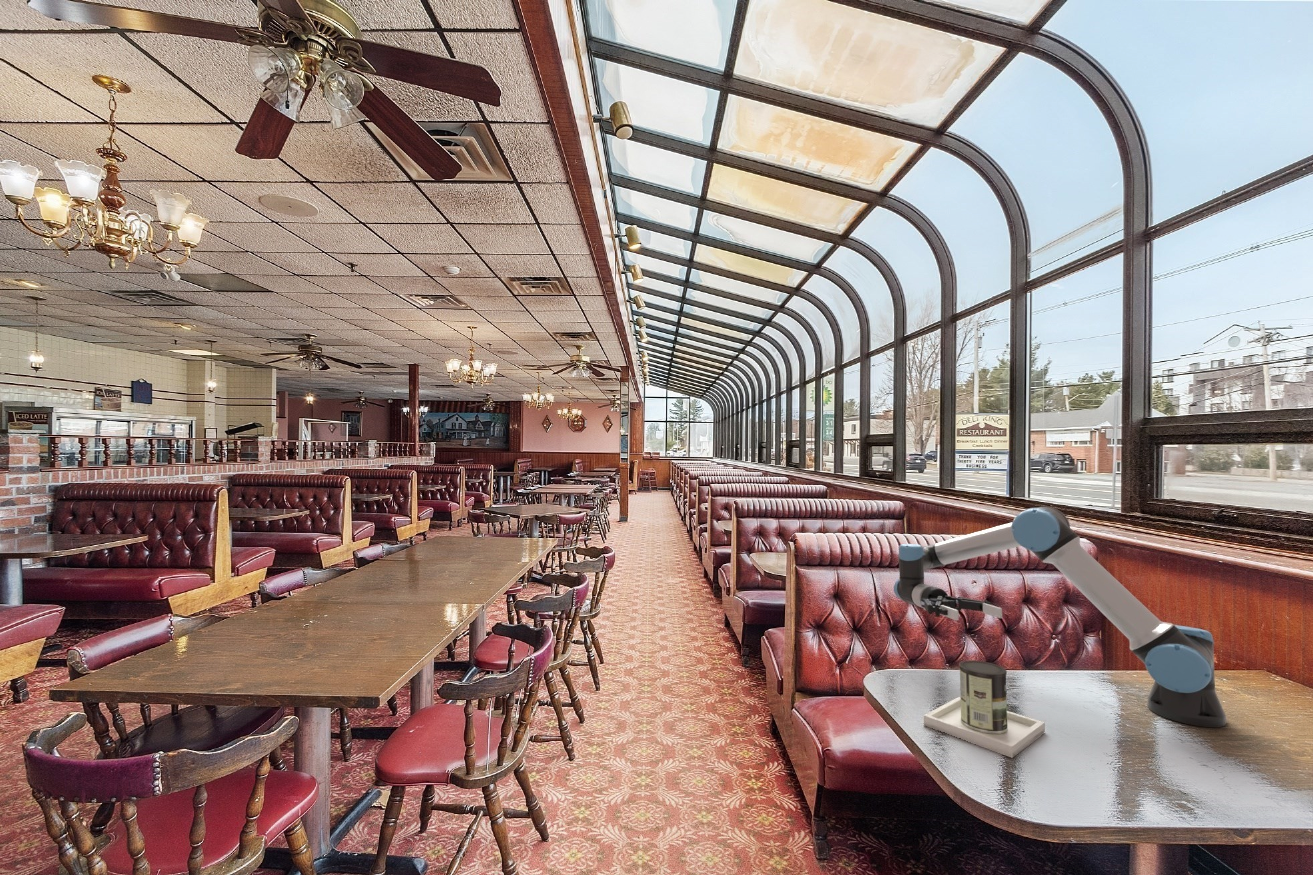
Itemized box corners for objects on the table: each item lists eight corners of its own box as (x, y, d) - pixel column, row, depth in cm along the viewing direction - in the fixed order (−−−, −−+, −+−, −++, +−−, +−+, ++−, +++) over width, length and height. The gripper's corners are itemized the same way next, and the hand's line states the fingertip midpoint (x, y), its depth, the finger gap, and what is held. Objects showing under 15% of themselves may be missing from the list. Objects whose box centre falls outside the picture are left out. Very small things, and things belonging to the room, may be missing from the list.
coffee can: (998, 717, 145) (997, 661, 146) (1015, 736, 135) (1013, 675, 136) (954, 713, 147) (953, 658, 148) (967, 732, 137) (966, 672, 138)
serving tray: (1044, 732, 139) (1044, 722, 140) (1012, 757, 127) (1012, 746, 127) (960, 705, 155) (959, 696, 155) (923, 725, 143) (923, 715, 143)
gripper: (966, 608, 182) (1019, 625, 161) (894, 612, 178) (939, 630, 157) (965, 584, 182) (1017, 598, 161) (894, 587, 178) (938, 602, 157)
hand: (979, 614), depth 159 cm, fingers open, 13 cm apart
